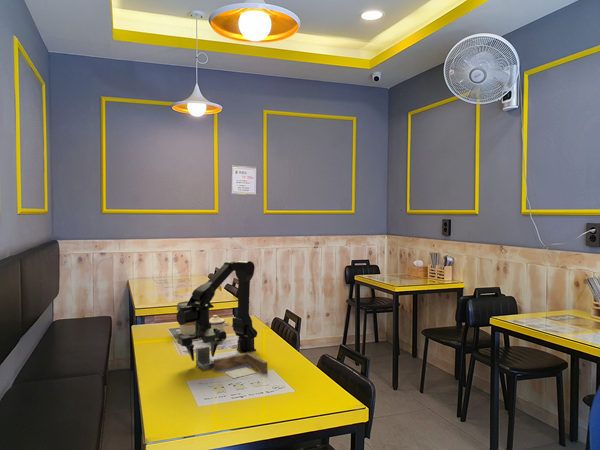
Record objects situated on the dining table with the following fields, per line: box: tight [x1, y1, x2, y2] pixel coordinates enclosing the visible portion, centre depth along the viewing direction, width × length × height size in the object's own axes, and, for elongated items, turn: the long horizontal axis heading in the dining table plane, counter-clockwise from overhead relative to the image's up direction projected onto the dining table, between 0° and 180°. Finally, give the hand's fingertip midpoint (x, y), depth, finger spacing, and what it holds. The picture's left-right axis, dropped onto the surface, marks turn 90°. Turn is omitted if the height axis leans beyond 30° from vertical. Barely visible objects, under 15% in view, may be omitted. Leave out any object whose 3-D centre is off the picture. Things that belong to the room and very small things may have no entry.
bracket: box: [195, 345, 214, 371], centre depth 184 cm, size 8×5×7 cm, turn 35°
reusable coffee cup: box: [176, 300, 200, 336], centre depth 235 cm, size 13×13×15 cm
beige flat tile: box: [223, 366, 257, 379], centre depth 176 cm, size 10×8×1 cm
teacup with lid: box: [209, 314, 226, 341], centre depth 222 cm, size 12×9×12 cm
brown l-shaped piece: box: [213, 352, 269, 375], centre depth 178 cm, size 15×15×4 cm
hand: (202, 358), depth 186 cm, fingers open, 8 cm apart
